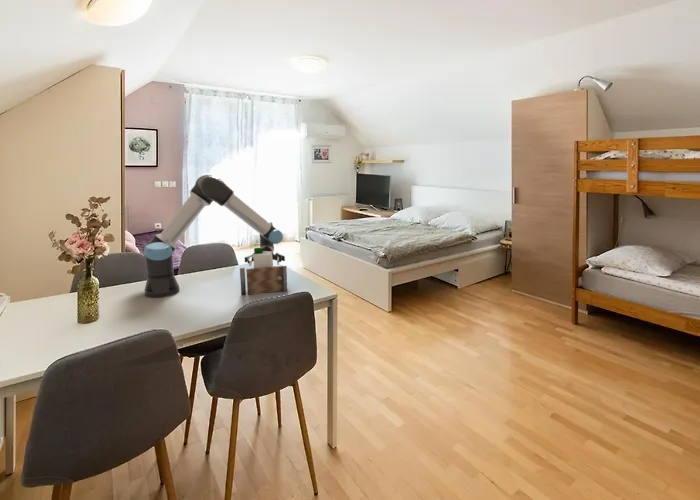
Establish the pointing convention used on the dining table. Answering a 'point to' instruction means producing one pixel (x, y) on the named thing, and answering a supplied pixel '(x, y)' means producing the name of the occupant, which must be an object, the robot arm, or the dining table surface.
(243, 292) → the door frame
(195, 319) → the dining table surface
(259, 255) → the soya milk
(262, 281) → the door
